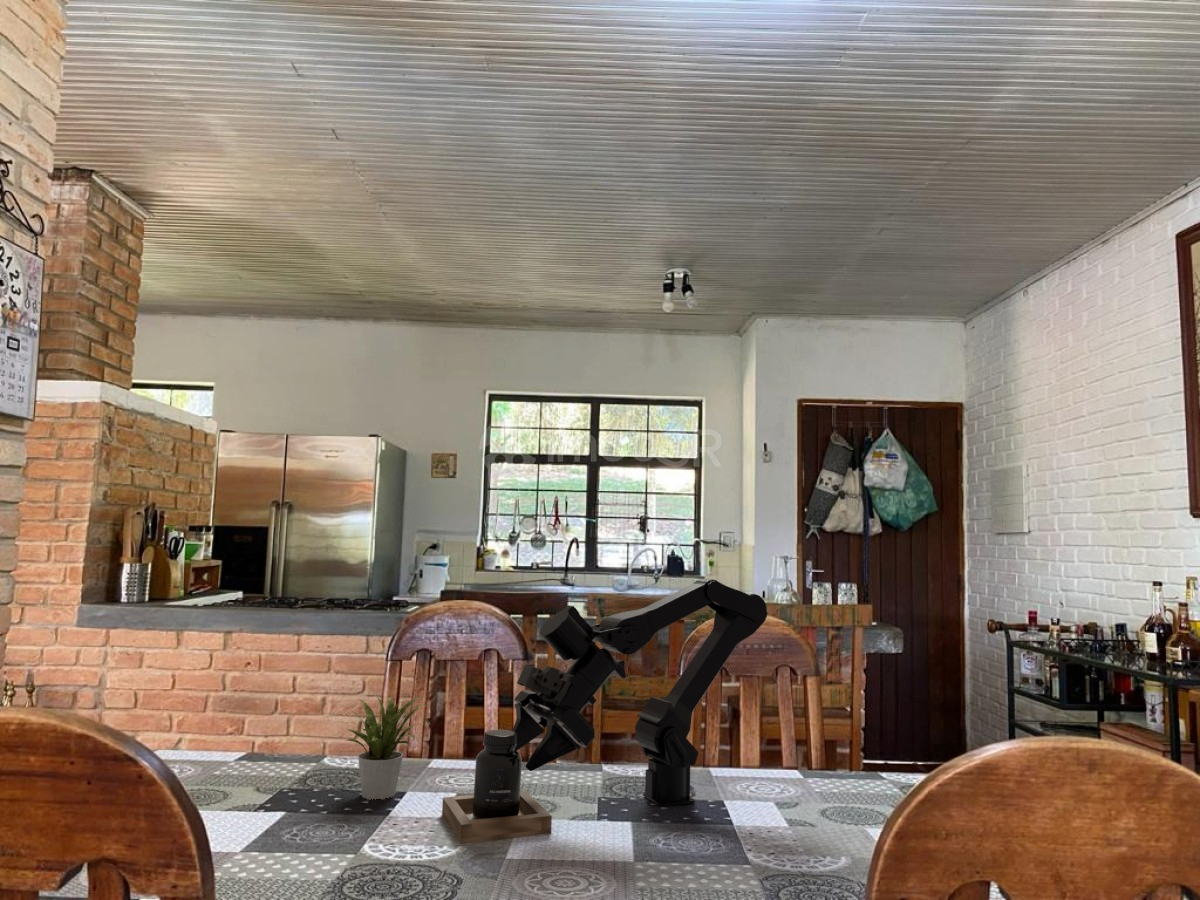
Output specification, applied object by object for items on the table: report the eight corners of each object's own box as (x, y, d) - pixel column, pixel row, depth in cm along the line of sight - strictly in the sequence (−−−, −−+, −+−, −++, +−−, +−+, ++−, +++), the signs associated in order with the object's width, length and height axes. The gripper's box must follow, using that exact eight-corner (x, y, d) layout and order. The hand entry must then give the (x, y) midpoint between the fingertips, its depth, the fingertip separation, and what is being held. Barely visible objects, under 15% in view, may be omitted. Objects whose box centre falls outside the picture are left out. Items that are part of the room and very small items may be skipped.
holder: (524, 806, 125) (525, 790, 125) (551, 833, 113) (551, 815, 113) (442, 814, 120) (442, 797, 120) (460, 843, 108) (461, 824, 108)
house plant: (444, 786, 134) (449, 686, 137) (411, 811, 121) (417, 700, 123) (365, 780, 137) (372, 682, 139) (324, 803, 123) (332, 695, 126)
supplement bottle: (494, 828, 112) (498, 739, 113) (462, 817, 116) (466, 732, 118) (529, 817, 117) (532, 732, 118) (497, 807, 121) (501, 725, 123)
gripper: (526, 639, 131) (460, 714, 125) (576, 652, 115) (503, 739, 109) (568, 685, 134) (506, 760, 128) (623, 703, 118) (555, 791, 111)
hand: (515, 761), depth 119 cm, fingers open, 9 cm apart
